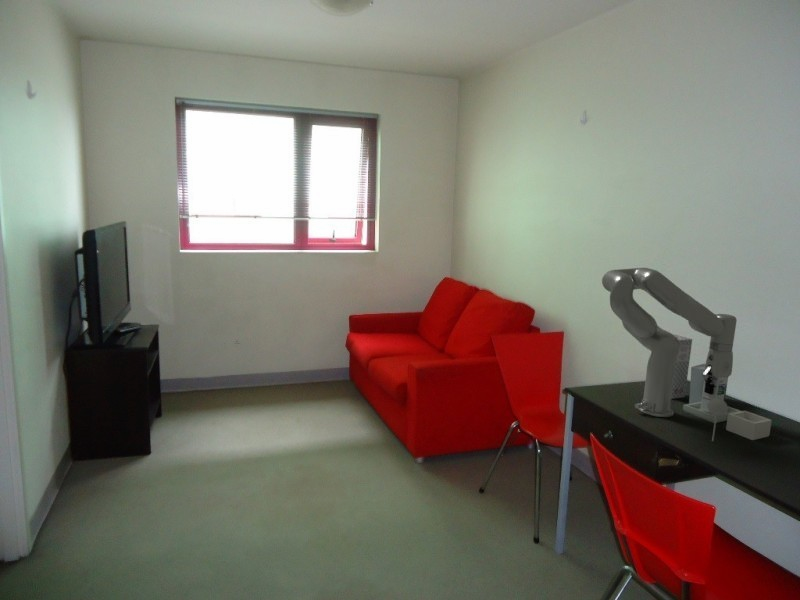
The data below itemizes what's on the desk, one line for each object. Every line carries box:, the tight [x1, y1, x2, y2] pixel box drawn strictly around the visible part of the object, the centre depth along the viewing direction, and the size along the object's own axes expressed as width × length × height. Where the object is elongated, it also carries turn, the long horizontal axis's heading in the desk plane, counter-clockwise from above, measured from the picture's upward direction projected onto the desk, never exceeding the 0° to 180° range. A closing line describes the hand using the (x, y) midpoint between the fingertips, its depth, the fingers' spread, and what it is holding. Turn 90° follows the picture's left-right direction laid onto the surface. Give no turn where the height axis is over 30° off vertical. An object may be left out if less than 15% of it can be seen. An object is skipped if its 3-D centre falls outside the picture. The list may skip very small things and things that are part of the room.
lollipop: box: [708, 398, 728, 442], centre depth 185 cm, size 6×6×15 cm
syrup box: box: [700, 374, 729, 413], centre depth 211 cm, size 6×6×14 cm
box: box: [671, 334, 693, 400], centre depth 231 cm, size 8×8×25 cm
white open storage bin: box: [725, 410, 773, 441], centre depth 195 cm, size 10×10×6 cm
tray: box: [682, 402, 741, 424], centre depth 212 cm, size 16×13×2 cm
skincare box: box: [688, 362, 706, 404], centre depth 226 cm, size 21×5×16 cm, turn 128°
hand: (714, 392), depth 211 cm, fingers open, 6 cm apart
